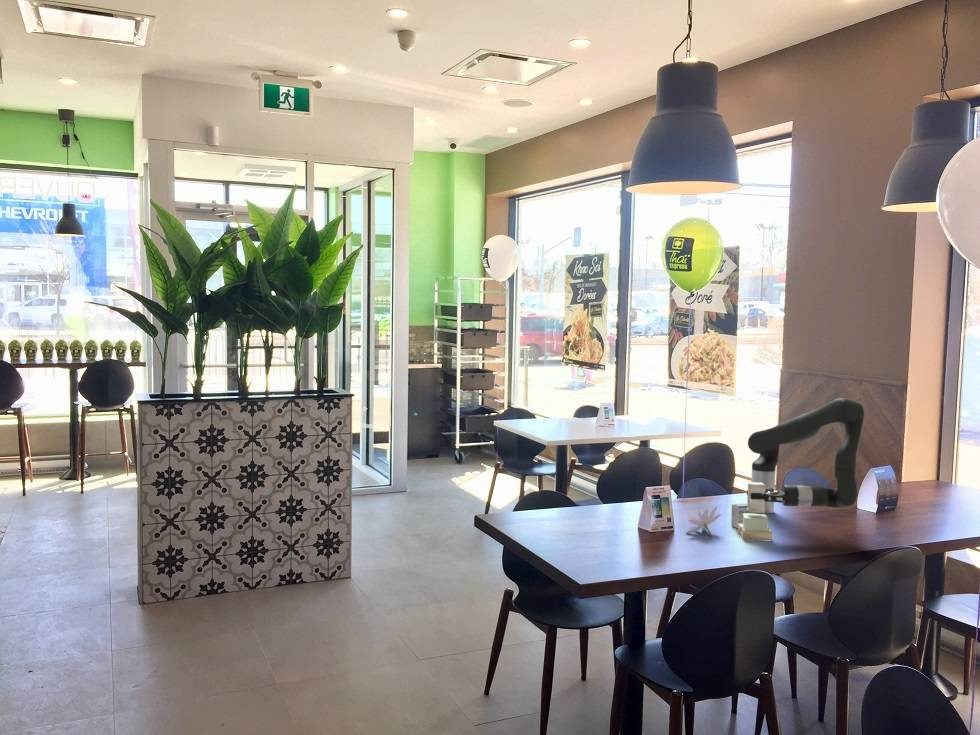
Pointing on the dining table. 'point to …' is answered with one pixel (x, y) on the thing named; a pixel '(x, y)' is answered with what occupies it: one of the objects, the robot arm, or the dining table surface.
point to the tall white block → (755, 504)
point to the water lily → (703, 520)
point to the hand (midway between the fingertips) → (749, 494)
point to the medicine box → (738, 514)
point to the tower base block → (754, 534)
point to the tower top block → (755, 521)
